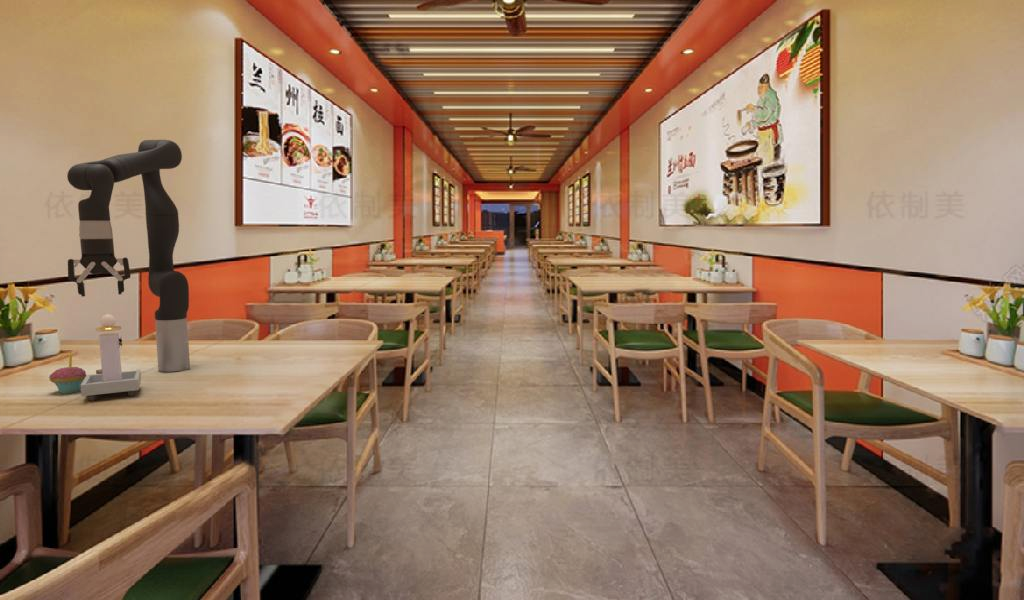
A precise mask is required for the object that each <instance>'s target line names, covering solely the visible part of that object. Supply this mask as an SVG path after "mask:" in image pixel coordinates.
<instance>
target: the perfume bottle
mask: <svg viewBox="0 0 1024 600" xmlns="http://www.w3.org/2000/svg"><path fill="white" fill-rule="evenodd" d="M116 321H117V320H116V317H115V316H114V315H113V314H111V313H106V314H103V315H101V316H100V319H99V323H100V325H101V326H98V327H96V328H95V332H110V331H111V332H112V331H113V332H114V331H119V330H121V329H122V326H120V325H115V324H116ZM98 338H99V339H98V341H99V352H100V353H99V354H100V363H101V369H102V379H103V382H110V381H120V380H122V372H123V371H122V362H121V361H122V360H121V347H123V339H122V336H119V333H116V332H114V333H102V334H99V335H98Z"/></svg>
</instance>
